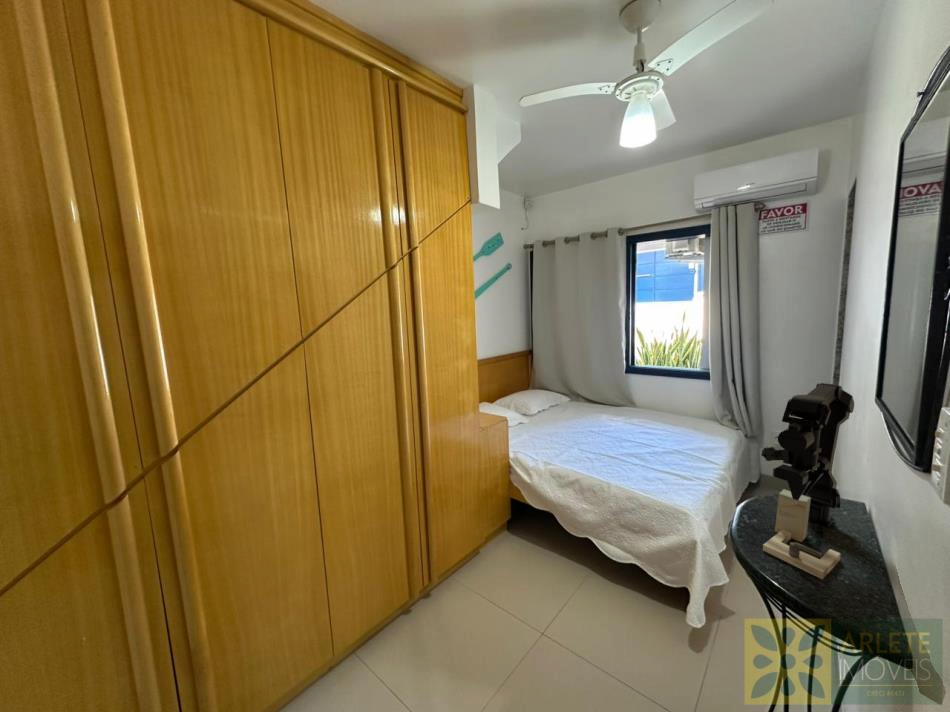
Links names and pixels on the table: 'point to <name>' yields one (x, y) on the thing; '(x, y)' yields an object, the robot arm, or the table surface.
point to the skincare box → (792, 515)
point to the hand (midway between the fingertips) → (799, 497)
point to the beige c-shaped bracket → (801, 555)
